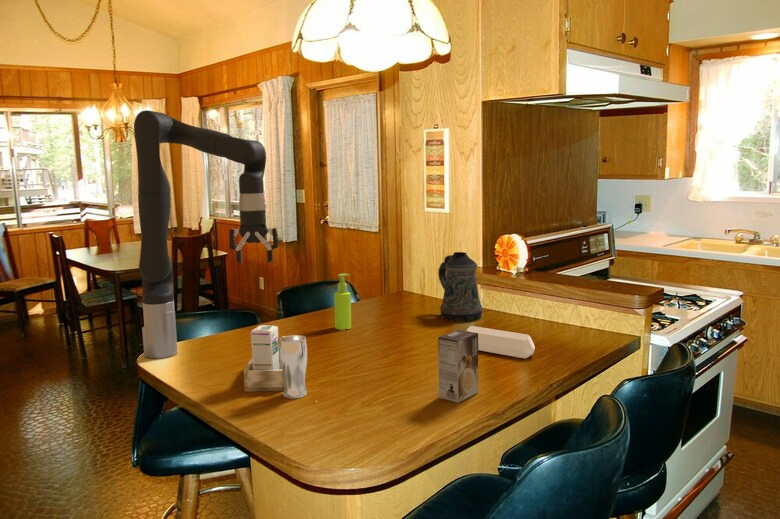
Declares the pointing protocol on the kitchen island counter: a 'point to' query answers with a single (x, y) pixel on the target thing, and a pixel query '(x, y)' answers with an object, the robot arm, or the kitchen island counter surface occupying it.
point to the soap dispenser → (342, 305)
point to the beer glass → (293, 365)
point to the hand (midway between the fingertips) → (255, 262)
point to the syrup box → (265, 348)
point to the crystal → (503, 342)
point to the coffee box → (458, 365)
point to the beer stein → (459, 288)
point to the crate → (263, 379)
